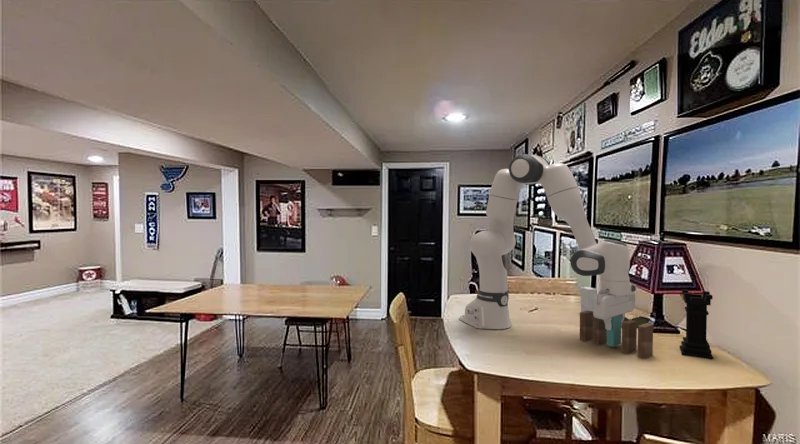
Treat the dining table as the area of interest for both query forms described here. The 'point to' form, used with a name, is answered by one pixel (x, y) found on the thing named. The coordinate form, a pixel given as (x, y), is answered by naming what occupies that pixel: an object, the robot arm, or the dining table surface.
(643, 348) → the domino
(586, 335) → the domino
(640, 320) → the sunglasses
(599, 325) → the domino
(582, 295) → the skincare box
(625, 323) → the domino
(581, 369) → the dining table surface
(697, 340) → the chess piece
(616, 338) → the domino
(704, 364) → the dining table surface
